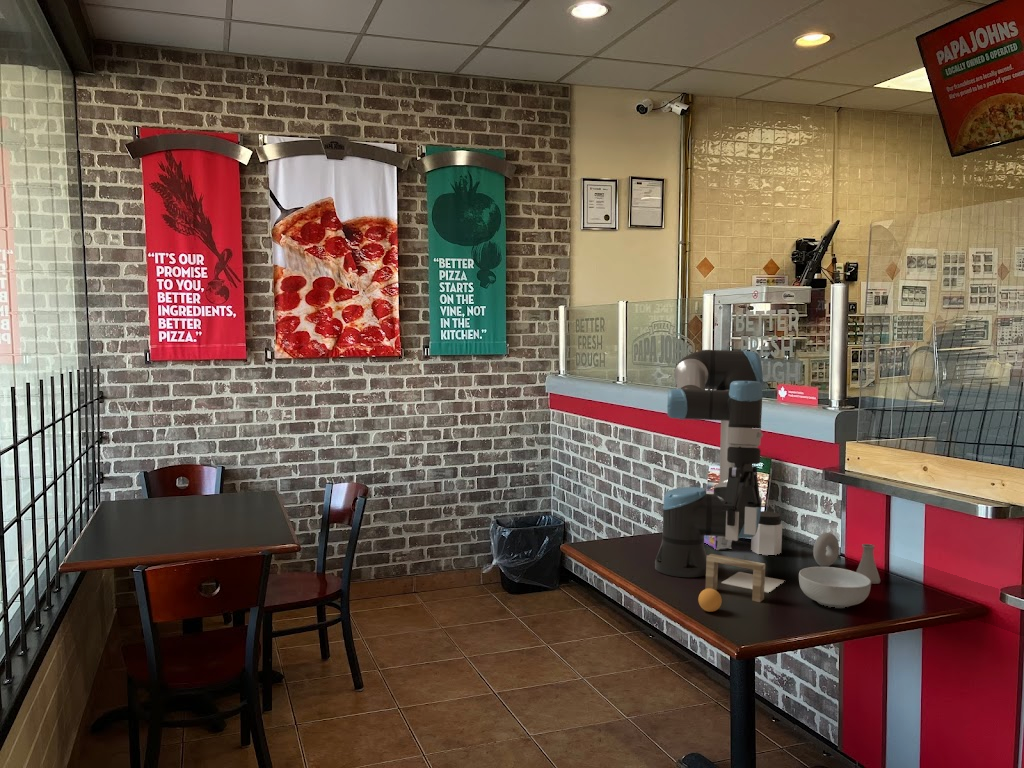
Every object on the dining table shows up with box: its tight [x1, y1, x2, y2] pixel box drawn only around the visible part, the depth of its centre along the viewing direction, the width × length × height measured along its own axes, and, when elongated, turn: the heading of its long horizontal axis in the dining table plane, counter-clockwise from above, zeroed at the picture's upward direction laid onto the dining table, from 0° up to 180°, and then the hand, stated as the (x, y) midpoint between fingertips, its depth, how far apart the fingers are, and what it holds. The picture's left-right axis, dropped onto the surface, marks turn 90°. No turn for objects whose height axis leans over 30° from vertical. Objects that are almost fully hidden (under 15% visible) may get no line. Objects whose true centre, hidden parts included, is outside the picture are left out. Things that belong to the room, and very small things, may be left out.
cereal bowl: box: [798, 566, 872, 609], centre depth 209 cm, size 17×17×7 cm
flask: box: [855, 543, 882, 585], centre depth 229 cm, size 7×7×10 cm
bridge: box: [704, 553, 766, 603], centre depth 214 cm, size 3×14×9 cm, turn 54°
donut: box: [812, 532, 840, 567], centre depth 242 cm, size 10×3×10 cm, turn 125°
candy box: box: [704, 489, 733, 551], centre depth 264 cm, size 14×6×16 cm, turn 12°
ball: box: [697, 588, 723, 613], centre depth 201 cm, size 6×6×6 cm
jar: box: [750, 510, 783, 556], centre depth 256 cm, size 9×8×12 cm
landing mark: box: [720, 571, 786, 594], centre depth 225 cm, size 13×13×1 cm
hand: (741, 537), depth 194 cm, fingers open, 13 cm apart
